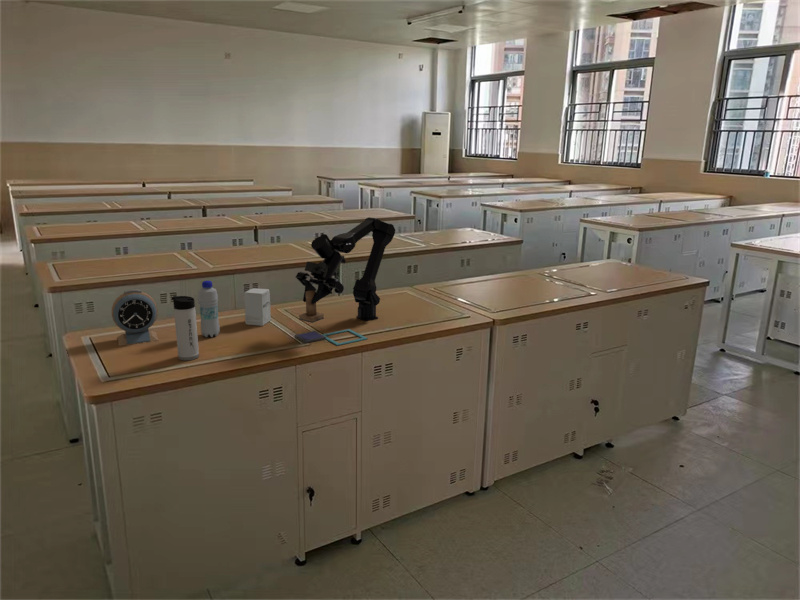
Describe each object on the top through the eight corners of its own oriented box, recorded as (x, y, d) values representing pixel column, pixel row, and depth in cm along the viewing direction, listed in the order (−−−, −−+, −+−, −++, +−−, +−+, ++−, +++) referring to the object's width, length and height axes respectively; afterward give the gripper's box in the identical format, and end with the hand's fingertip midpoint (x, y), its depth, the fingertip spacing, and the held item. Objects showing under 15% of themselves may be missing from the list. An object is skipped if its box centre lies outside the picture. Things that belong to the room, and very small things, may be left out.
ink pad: (315, 333, 206) (315, 330, 206) (325, 339, 200) (325, 336, 200) (295, 337, 201) (294, 334, 201) (305, 343, 195) (305, 340, 195)
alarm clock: (115, 346, 189) (109, 295, 184) (114, 337, 197) (108, 288, 193) (161, 340, 196) (156, 290, 191) (158, 332, 204) (154, 284, 199)
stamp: (311, 315, 203) (310, 287, 200) (323, 318, 200) (322, 290, 197) (299, 319, 198) (298, 291, 195) (312, 322, 195) (311, 293, 192)
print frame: (349, 329, 210) (349, 328, 210) (367, 339, 201) (367, 338, 201) (319, 336, 203) (319, 334, 203) (337, 345, 193) (337, 344, 193)
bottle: (224, 333, 203) (220, 279, 198) (212, 339, 197) (208, 283, 192) (208, 331, 206) (204, 277, 200) (196, 337, 199) (192, 281, 194)
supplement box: (263, 326, 213) (261, 293, 209) (245, 324, 214) (243, 292, 211) (271, 320, 220) (270, 288, 216) (253, 319, 221) (252, 287, 218)
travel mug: (180, 353, 184) (175, 294, 178) (201, 353, 184) (196, 294, 179) (174, 361, 178) (168, 299, 172) (196, 360, 178) (191, 299, 173)
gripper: (298, 249, 201) (276, 285, 195) (337, 256, 190) (315, 294, 185) (314, 267, 209) (293, 302, 204) (353, 274, 199) (332, 312, 193)
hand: (307, 302), depth 196 cm, fingers closed on stamp, 3 cm apart
